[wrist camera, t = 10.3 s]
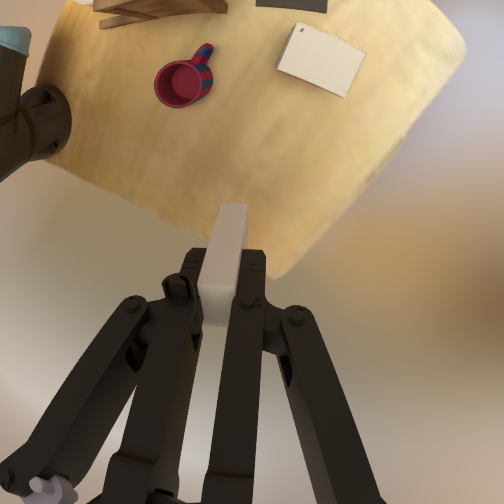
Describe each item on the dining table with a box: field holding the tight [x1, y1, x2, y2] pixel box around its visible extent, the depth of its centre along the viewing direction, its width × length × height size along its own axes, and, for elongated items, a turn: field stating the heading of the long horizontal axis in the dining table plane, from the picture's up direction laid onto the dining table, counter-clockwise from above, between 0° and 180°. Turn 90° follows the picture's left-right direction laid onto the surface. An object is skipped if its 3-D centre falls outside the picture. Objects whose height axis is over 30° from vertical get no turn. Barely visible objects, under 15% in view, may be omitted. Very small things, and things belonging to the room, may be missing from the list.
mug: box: [154, 43, 213, 108], centre depth 34 cm, size 7×10×7 cm
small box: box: [275, 21, 367, 98], centre depth 29 cm, size 8×6×13 cm
